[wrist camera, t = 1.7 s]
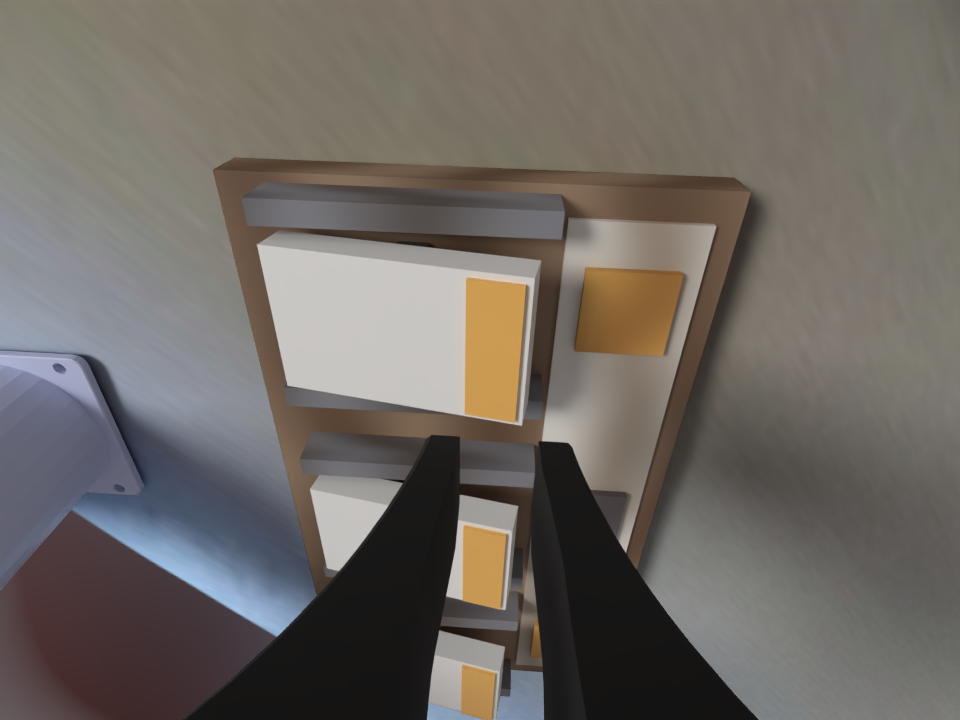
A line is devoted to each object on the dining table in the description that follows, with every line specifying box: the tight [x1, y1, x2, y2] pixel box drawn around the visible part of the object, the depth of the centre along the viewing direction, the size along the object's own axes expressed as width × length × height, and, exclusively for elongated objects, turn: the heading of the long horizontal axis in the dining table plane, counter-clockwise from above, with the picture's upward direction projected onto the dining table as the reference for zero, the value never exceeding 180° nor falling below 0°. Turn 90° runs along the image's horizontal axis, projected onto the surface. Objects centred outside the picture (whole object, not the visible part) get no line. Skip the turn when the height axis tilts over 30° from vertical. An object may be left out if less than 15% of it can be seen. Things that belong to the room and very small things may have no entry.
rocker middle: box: [310, 475, 518, 610], centre depth 22 cm, size 8×5×1 cm, turn 88°
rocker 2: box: [428, 631, 505, 720], centre depth 28 cm, size 8×5×1 cm, turn 88°
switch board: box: [213, 158, 751, 696], centre depth 24 cm, size 16×28×3 cm, turn 179°
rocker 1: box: [257, 230, 541, 426], centre depth 16 cm, size 8×5×1 cm, turn 88°
